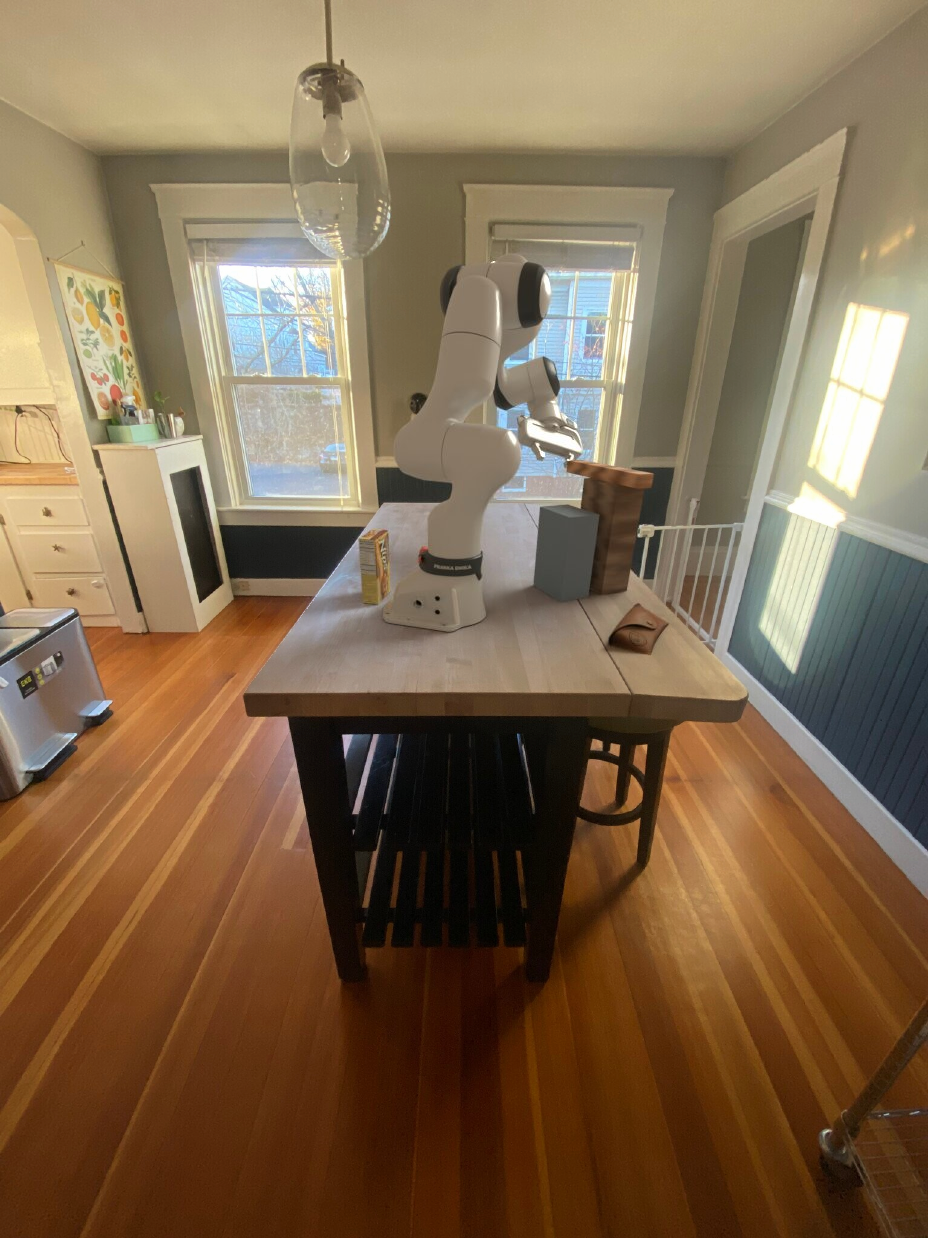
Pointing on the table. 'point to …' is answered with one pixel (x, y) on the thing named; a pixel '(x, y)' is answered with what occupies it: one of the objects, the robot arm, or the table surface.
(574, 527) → the low stand
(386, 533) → the candy box
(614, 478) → the bar
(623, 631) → the sunglasses case
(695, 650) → the table surface
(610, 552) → the tall stand
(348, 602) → the table surface
